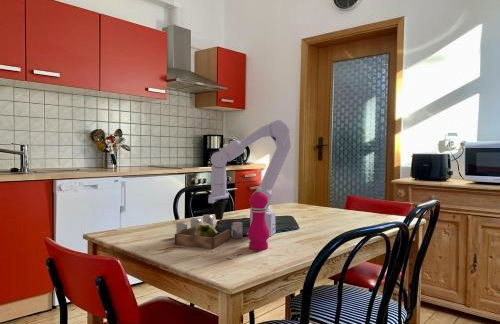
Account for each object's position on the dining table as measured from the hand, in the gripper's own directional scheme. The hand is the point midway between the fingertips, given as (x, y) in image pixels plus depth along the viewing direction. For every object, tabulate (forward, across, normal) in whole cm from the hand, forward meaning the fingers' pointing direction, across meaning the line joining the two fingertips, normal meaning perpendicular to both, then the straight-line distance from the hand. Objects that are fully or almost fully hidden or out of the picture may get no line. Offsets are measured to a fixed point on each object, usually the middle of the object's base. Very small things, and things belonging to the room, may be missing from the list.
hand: (219, 219), depth 145 cm
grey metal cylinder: (+6, -7, -8) cm, 12 cm away
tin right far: (+6, +9, -11) cm, 15 cm away
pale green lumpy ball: (+5, +13, 0) cm, 14 cm away
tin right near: (+6, +1, -9) cm, 11 cm away
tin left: (+6, +2, +8) cm, 10 cm away
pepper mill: (+6, +12, +20) cm, 24 cm away
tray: (+6, +12, -1) cm, 13 cm away
